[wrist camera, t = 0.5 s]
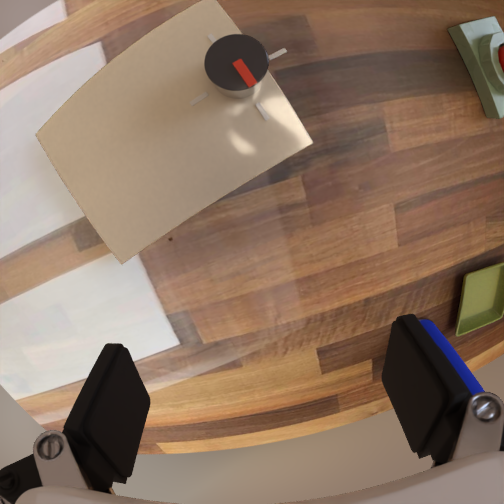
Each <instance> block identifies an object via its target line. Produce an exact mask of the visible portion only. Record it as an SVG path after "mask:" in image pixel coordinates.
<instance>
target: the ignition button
mask: <svg viewBox="0 0 504 504" xmlns="http://www.w3.org/2000/svg"><path fill="white" fill-rule="evenodd" d="M498 58H499V63H500V65H501V68H502V70H503V72H504V46H502V47H500V49H499V51H498Z"/></svg>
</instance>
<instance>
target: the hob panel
mask: <svg viewBox="0 0 504 504" xmlns="http://www.w3.org/2000/svg"><path fill="white" fill-rule="evenodd" d="M231 34H242V33H241V31H240V30H239V29H238V27H237V26H236V25H235V23H234V22H233V21H232V19H231V18H230V17H229V16H228V14H227V13H226V12H225V10H224V9H223V8H222V7H221V5H220V4H219V3H218V2H217V1H216V0H201V1H200V2H198V3H196V4H194V5H192V6H191V7H189V8H187V9H185V10H184V11H182V12H180V13H179V14H177V15H175V16H174V17H172V18H170V19H169V20H167V21H166V22H164V23H163V24H161V25H160V26H158V27H156V28H155V29H154V30H152V31H151V32H149V33H148V34H146V35H145V36H143V37H142V38H141V39H139V40H138V41H136V42H135V43H134V44H132V45H131V46H130V47H128V48H127V49H126V50H124V51H123V52H122V53H120V54H119V55H118V56H117V57H115V58H114V59H113V60H112V61H110V62H109V63H108V64H107V65H106V66H104V67H103V68H102V69H101V70H100V71H98V72H97V73H96V74H95V75H94V76H93V77H92V78H90V79H89V80H88V81H87V82H86V83H85V84H84V85H83V86H82V87H81V88H79V89H78V90H77V91H76V92H75V93H74V94H73V95H72V96H71V97H70V98H69V99H68V100H67V101H66V102H65V103H64V104H63V105H62V106H61V107H60V108H59V109H58V110H57V111H56V112H55V113H54V114H53V115H52V116H51V118H50V119H49V120H48V121H47V122H46V123H45V124H44V125H43V126H42V127H41V129H40V130H39V131H38V132H37V133H36V137H37V138H38V140H39V142H40V144H41V146H42V147H43V149H44V151H45V152H46V154H47V156H48V158H49V159H50V161H51V163H52V164H53V166H54V168H55V169H56V171H57V173H58V174H59V176H60V177H61V179H62V181H63V182H64V184H65V185H66V187H67V188H68V190H69V192H70V193H71V195H72V196H73V198H74V199H75V201H76V202H77V204H78V205H79V207H80V208H81V210H82V211H83V213H84V214H85V215H86V217H87V218H88V220H89V221H90V223H91V224H92V226H93V227H94V228H95V230H96V231H97V233H98V234H99V235H100V237H101V238H102V240H103V241H104V242H105V244H106V245H107V246H108V248H109V249H110V250H111V252H112V253H113V254H114V256H115V257H116V258H117V260H118V261H119V262H120V264H123V263H125V262H126V261H127V260H129V259H130V258H132V257H133V256H135V255H136V254H137V253H139V252H140V251H142V250H143V249H145V248H146V247H147V246H149V245H150V244H152V243H153V242H155V241H156V240H158V239H159V238H161V237H162V236H164V235H165V234H167V233H168V232H170V231H171V230H173V229H174V228H176V227H177V226H179V225H180V224H182V223H183V222H185V221H186V220H188V219H189V218H191V217H192V216H194V215H195V214H197V213H198V212H200V211H202V210H203V209H205V208H206V207H208V206H209V205H211V204H212V203H214V202H216V201H217V200H219V199H220V198H222V197H224V196H225V195H227V194H228V193H230V192H232V191H233V190H235V189H236V188H238V187H240V186H241V185H243V184H245V183H246V182H248V181H250V180H251V179H253V178H255V177H256V176H258V175H260V174H261V173H263V172H265V171H266V170H268V169H270V168H271V167H273V166H275V165H276V164H278V163H280V162H282V161H283V160H285V159H287V158H289V157H290V156H292V155H294V154H296V153H297V152H299V151H301V150H303V149H304V148H306V147H308V146H310V145H312V144H313V141H312V139H311V138H310V136H309V134H308V132H307V131H306V129H305V127H304V126H303V124H302V122H301V121H300V119H299V117H298V116H297V114H296V112H295V111H294V109H293V108H292V106H291V104H290V103H289V101H288V100H287V98H286V96H285V95H284V93H283V92H282V90H281V89H280V87H279V86H278V84H277V83H276V81H275V80H274V78H273V77H272V75H271V74H270V72H269V71H268V70H267V73H266V75H265V78H264V81H263V84H262V86H261V87H260V89H259V90H258V91H257V92H256V93H255V94H253V95H251V96H249V97H247V98H243V99H233V98H229V97H226V96H224V95H223V94H221V93H220V92H219V91H218V90H217V89H216V87H215V86H214V85H213V83H212V82H211V80H210V79H209V77H208V76H207V74H206V71H205V68H204V59H205V55H206V52H207V51H208V49H209V47H210V46H211V45H212V44H213V43H214V42H215V41H217V40H218V39H220V38H222V37H224V36H227V35H231ZM286 52H287V51H286V49H285V48H283V49H281V50H279V51H277V52H275V53H273V54H271V55H269V56H268V58H269V60H272V59H274V58H276V57H278V56H280V55H282V54H284V53H286Z"/></svg>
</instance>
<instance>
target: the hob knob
mask: <svg viewBox="0 0 504 504" xmlns="http://www.w3.org/2000/svg"><path fill="white" fill-rule="evenodd" d="M268 66H269V58H268V54H267V51H266V49H265V48H264V46H263V45H262V44H261V43H260V42H259V41H258V40H256V39H254V38H253V37H250V36H248V35H243V34H231V35H227V36H224V37H222V38H220V39H218V40H217V41H215V42H214V43H213V44H212V45H211V46H210V47H209V49H208V51H207V52H206V55H205V59H204V68H205V71H206V74H207V76H208V77H209V79H210V80H211V82H212V83H213V85H214V86H215V87H216V89H217V90H218V91H219V92H220V93H221V94H223V95H224V96H226V97H229V98H233V99H243V98H247V97H249V96H251V95H253V94H255V93H256V92H257V91H258V90H259V89H260V87H261V86H262V84H263V81H264V78H265V75H266V73H267V70H268Z"/></svg>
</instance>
